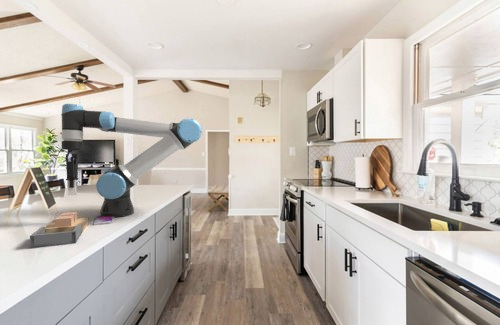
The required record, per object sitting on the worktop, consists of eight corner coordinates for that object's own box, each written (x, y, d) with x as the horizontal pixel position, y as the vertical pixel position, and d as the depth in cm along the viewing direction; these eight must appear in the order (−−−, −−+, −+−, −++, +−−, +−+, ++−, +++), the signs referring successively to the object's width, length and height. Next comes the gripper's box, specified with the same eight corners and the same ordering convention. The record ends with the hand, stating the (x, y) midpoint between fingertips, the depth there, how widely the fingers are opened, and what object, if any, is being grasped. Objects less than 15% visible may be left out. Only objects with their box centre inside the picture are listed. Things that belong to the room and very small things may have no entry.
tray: (81, 233, 93) (81, 223, 93) (75, 243, 83) (75, 231, 83) (41, 237, 88) (41, 226, 88) (30, 248, 78) (29, 235, 78)
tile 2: (77, 218, 103) (77, 211, 103) (74, 221, 99) (74, 214, 99) (62, 220, 101) (62, 212, 101) (59, 223, 97) (59, 215, 97)
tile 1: (74, 222, 98) (74, 215, 98) (71, 225, 93) (71, 218, 93) (58, 224, 95) (58, 216, 95) (54, 227, 91) (54, 219, 91)
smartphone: (92, 224, 105) (96, 216, 118) (92, 226, 105) (96, 218, 118) (111, 222, 108) (113, 214, 122) (111, 224, 108) (113, 216, 122)
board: (87, 224, 106) (87, 217, 106) (81, 233, 94) (81, 225, 94) (53, 227, 101) (53, 219, 101) (41, 237, 89) (41, 229, 89)
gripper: (65, 141, 111) (65, 193, 111) (57, 139, 99) (57, 197, 100) (85, 141, 114) (85, 192, 115) (80, 140, 102) (79, 196, 103)
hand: (72, 194), depth 107 cm, fingers closed
